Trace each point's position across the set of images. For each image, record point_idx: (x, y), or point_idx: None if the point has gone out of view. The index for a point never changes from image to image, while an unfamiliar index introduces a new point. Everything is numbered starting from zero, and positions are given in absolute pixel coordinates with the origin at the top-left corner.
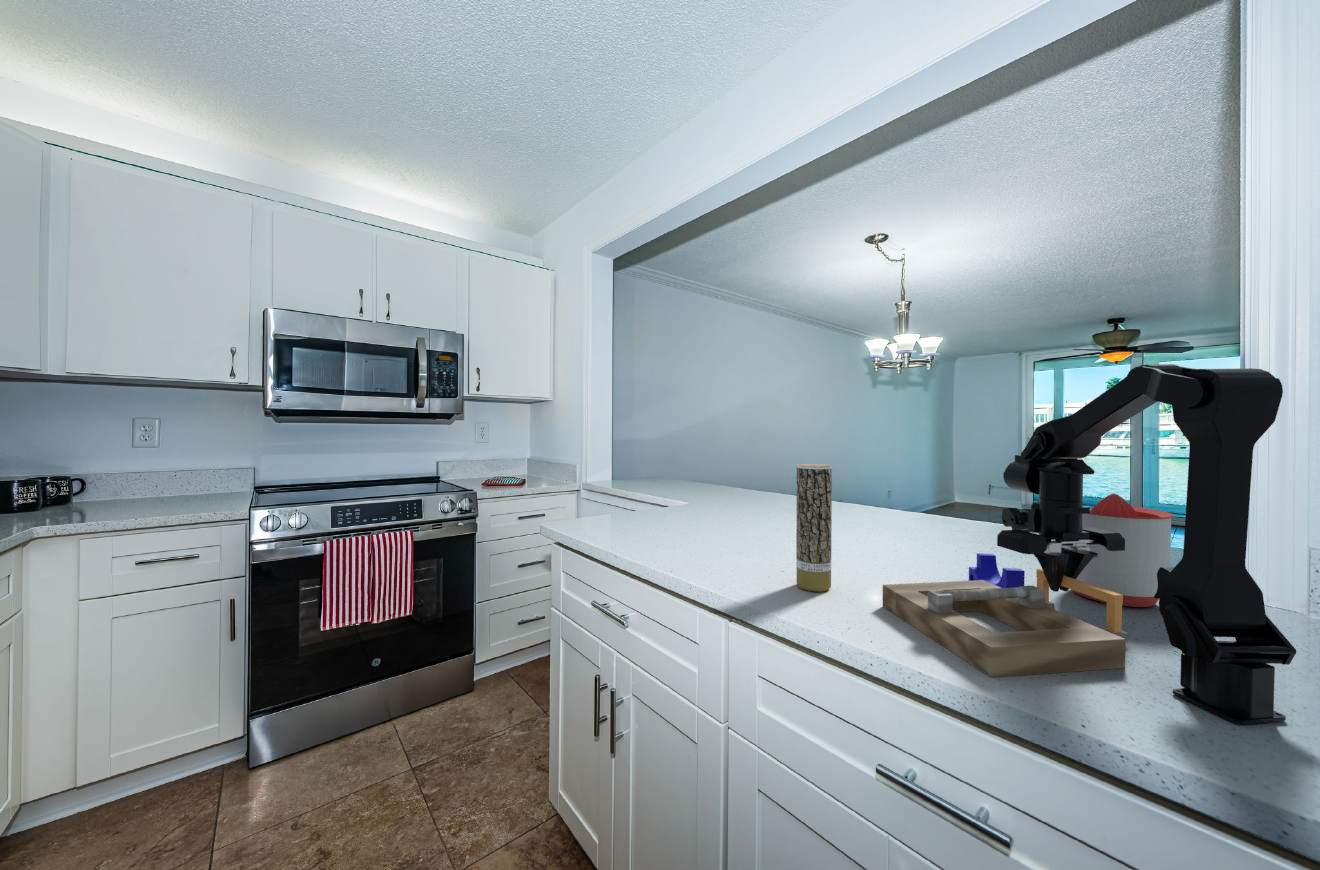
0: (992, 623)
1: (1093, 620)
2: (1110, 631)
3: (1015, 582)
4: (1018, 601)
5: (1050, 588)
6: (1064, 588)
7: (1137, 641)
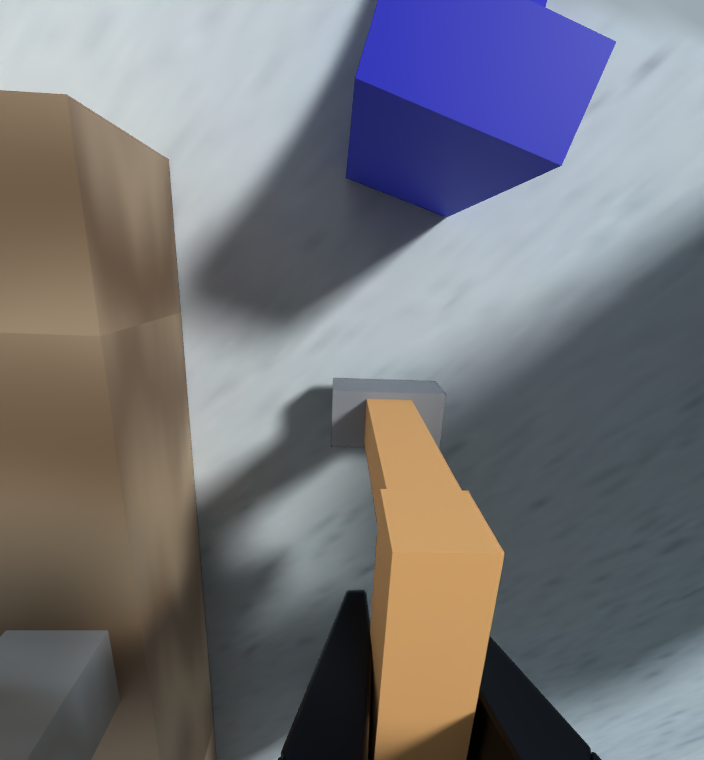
0: None
1: (533, 505)
2: None
3: (425, 165)
4: (24, 609)
5: (344, 598)
6: None
7: None
